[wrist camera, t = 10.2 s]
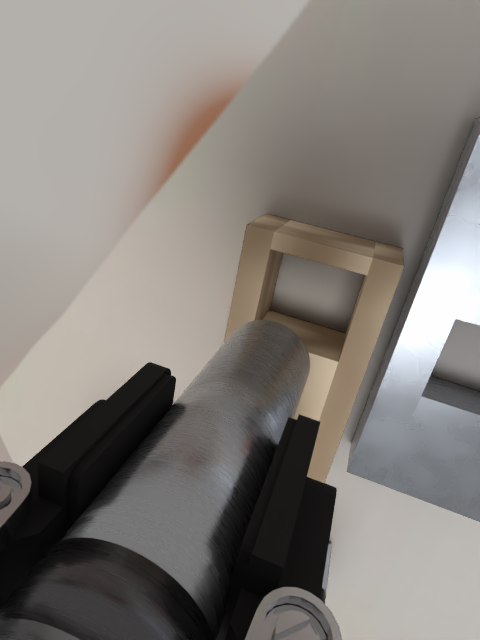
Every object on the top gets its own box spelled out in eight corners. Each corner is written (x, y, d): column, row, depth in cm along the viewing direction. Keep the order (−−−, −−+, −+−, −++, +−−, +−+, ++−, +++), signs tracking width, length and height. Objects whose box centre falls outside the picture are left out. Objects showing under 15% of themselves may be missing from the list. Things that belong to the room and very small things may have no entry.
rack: (402, 248, 21) (410, 336, 11) (325, 462, 27) (287, 641, 17) (266, 213, 22) (170, 265, 13) (222, 423, 28) (134, 567, 19)
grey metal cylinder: (322, 334, 14) (160, 793, 4) (299, 411, 15) (135, 898, 5) (232, 307, 14) (-96, 645, 5) (217, 383, 16) (-62, 769, 6)
